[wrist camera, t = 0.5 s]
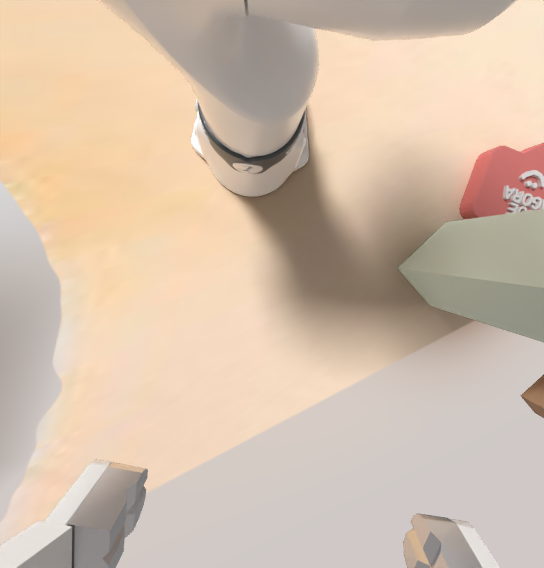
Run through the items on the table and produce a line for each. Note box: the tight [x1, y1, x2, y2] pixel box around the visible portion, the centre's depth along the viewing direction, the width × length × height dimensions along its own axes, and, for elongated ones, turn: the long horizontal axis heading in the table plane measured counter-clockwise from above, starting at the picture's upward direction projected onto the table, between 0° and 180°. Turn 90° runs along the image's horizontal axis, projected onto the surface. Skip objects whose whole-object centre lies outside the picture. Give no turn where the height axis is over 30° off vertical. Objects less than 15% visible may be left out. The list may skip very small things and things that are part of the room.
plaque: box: [460, 143, 544, 219], centre depth 45 cm, size 18×4×15 cm
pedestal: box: [398, 209, 544, 342], centre depth 35 cm, size 12×10×26 cm
